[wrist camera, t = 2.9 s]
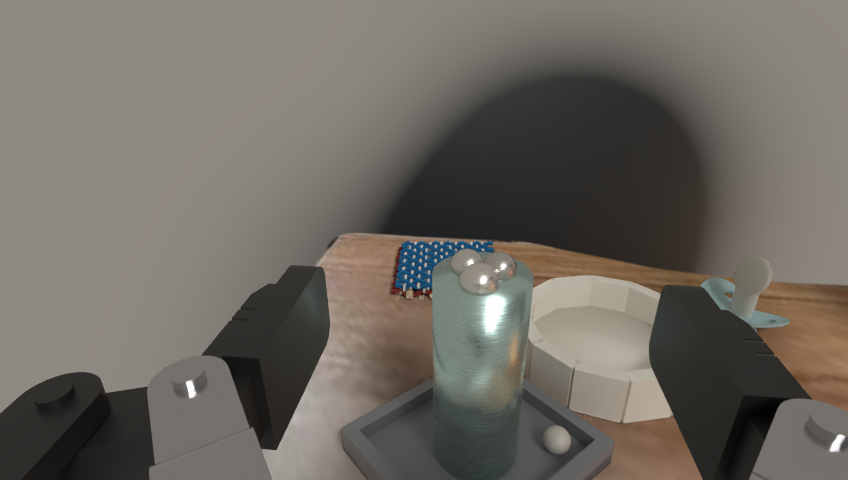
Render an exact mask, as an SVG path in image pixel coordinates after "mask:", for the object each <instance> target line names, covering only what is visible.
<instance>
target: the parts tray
mask: <svg viewBox="0 0 848 480" xmlns="http://www.w3.org/2000/svg"><path fill="white" fill-rule="evenodd" d="M341 431H342V439H343V447H344V450H345V452H346V453H347V454H348V455H349V457H350V458H351V459H352V461H353V462H354V463H355V464H356V466H357V467H358V468H359V469H360V471H361V472H362V473H363V474H364V476H365V477H366V478H367V480H460V479H457V478H455V477H454V476H452V475H450V474H449V473H447V472H446V471H445V470H444V469H443V468H442V467H441V465H440V464H439V462H438V461H437V459H436V456H435V453H434V423H433V377H431V378H430V379H428V380H426V381H424V382H422V383H421V384H419V385H417V386H415V387H414V388H412V389H410V390H408V391H407V392H405V393H403V394H401V395H399V396H398V397H396V398H394V399H392V400H391V401H389V402H387V403H385V404H384V405H382V406H380V407H378V408H376V409H375V410H373V411H371V412H369V413H368V414H366V415H364V416H362V417H361V418H359V419H357V420H355V421H354V422H352V423H350V424H348V425H346V426H345V427H343V428H341ZM614 444H615V441H614V440H613V439H611V438H610V437H609V436H607V435H606V434H604V433H603V432H601V431H600V430H599V429H597V428H596V427H594V426H593V425H591V424H590V423H589V422H587V421H586V420H584V419H583V418H581V417H580V416H578V415H577V414H576V413H574V412H573V411H571V410H570V409H568V408H567V407H566V406H564V405H563V404H561V403H560V402H558V401H557V400H556V399H554V398H553V397H551V396H550V395H548V394H547V393H545V392H544V391H543V390H541V389H540V388H538V387H537V386H535V385H534V384H533V383H531V382H530V381H528V380H527V379H525V378H524V384H523V394H522V404H521V415H520V425H519V436H518V446H517V455H516V460H515V463H514V465H513V467H512V468H511V469H510V471H509V472H508V473H506V474H505V475H504V476H502V477H501V478H499V479H497V480H592V479H593V478H594V477H596V476H597V475H598V474H599V473H600V472H601V471H602V470H603V469H604V468H605V467H606V466H607V465H608V464H609V463H610V462H611V458H612V453H613V448H614Z"/></svg>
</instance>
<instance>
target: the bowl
mask: <svg viewBox="0 0 848 480" xmlns="http://www.w3.org/2000/svg"><path fill="white" fill-rule="evenodd" d="M660 295H661V294H660V293H658V292H655V291H653V290H651V289H648V288H646V287H644V286H641V285H639V284H637V283H632V282H630V281H624V280H618V279H612V278H606V277H600V276H594V275H591V277H590V275H584V276H573V277H562V278H553V279H550V280H548V281H546V282H544V283H542V284H540V285H538V286H536V287H534V288H533V290H532V301H531V311H530V322H529V332H528V342H527V353H526V363H525V373H524V375H525V377H526V379H527V380H528V381H530V382H531V383H533V384H534V385H535V386H537V387H538V388H540V389H541V390H543V391H544V392H545V393H547V394H548V395H550V396H551V397H553V398H554V399H556V400H557V401H558V402H560V403H561V404H563V405H564V406H566V407H567V408H568V407H569V409H570V410H571V411H575V412H579V413H582V414H586V415H590V416H594V417H598V418H602V419H606V420H610V421H613V422H617V423H620V422H621V421H622V423H630V422H638V421H646V420H653V419H661V418H668V417H670V416H673V413H672V411H671V409H670V407H669V405H668V403H667V400H666V398H665V396H664V394H663V392H662V390H661V387H660V385H659V383H658V381H657V379H656V377H655V374H654V372H653V370H652V368H651V364H650V360H649V341H650V337H651V332H652V328H653V324H654V320H655V316H656V311H657V307H658V303H659V299H660Z"/></svg>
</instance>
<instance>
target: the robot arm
mask: <svg viewBox="0 0 848 480" xmlns="http://www.w3.org/2000/svg"><path fill="white" fill-rule="evenodd" d="M329 329H330V318H329V309H328V299H327V290H326V281H325V273H324V270H323V268H322V267H316V266H297V265H291V266H290V267H289V268H288V269H287V270H286V272H285V273H284V275H283V276H282V277H281V278H280V280H279V281H278V282H277V284H267V285H266V286H264V287H263V288H261V289H259V290H258V291H256V292H255V293H253V294H251V295H250V297H249V298H248V299H247V300H246V302H245V303H244V304H243V305H242V307H241V310H238V311H237V312H236V314H235V315H234V316H233V317H232V321H229V322H228V324H227V325H226V326H225V327H224V328H223V330H222V331H221V332H220V333H219V334H218V336H217V337H216V338H215V339H214V341H213V342H212V343H211V344H210V345H209V347H208V348H207V349H206V350H205V352H204V353H203V354H202V355H201V356H194V357H189V358H185V359H182V360H180V361H177V362H175V363H173V364H171V365H169V366H167V367H165V368H164V369H163V370H161V371H160V372H159V373H158V374H157V375H156V376H155V377H154V378H153V379H152V380H151V382H150V384H149V386H148V387H143V388H136V389H130V390H123V391H117V392H110V393H105V390H104V387H103V384H102V382H101V380H100V378H99V377H98V376H96V375H94V374H91V373H85V372H77V373H68V374H64V375H60V376H57V377H54V378H51V379H49V380H46V381H44V382H42V383H39V384H38V385H36V386H34V387H32V388H30V389H29V390H27V391H26V392H25V393H23V394H22V395H21V396H19V397H18V398H17V399H16V400H15V401H14V402H13V403H12V404H11V405H9V406H8V407H7V408H6V409H5V410H4V411H3V412H2V413H1V414H0V480H272V478H271V475H270V473H269V470H268V467H267V464H266V461H265V459H264V456H263V453H262V450H261V449H270V450H277V448H278V446H279V443H280V441H281V439H282V437H283V435H284V433H285V431H286V429H287V427H288V424H289V422H290V420H291V418H292V416H293V414H294V412H295V410H296V408H297V405H298V403H299V401H300V399H301V397H302V395H303V393H304V391H305V389H306V386H307V384H308V382H309V380H310V378H311V376H312V374H313V372H314V370H315V367H316V365H317V363H318V361H319V359H320V357H321V355H322V353H323V351H324V348H325V346H326V344H327V341H328V337H329ZM649 360H650V364H651V368H652V370H653V372H654V374H655V377H656V379H657V381H658V383H659V385H660V387H661V390H662V392H663V394H664V396H665V398H666V400H667V403H668V405H669V407H670V409H671V411H672V413H673V416H674V418H675V420H676V422H677V424H678V426H679V429H680V431H681V433H682V435H683V437H684V439H685V442H686V444H687V446H688V448H689V450H690V452H691V455H692V457H693V459H694V461H695V463H696V465H697V468H698V470H699V472H700V474H701V476H702V478H703V480H848V412H846V411H844V410H842V409H839V408H837V407H835V406H832V405H829V404H827V403H823V402H820V401H816V400H812V398H811V397H810V396H809V395H808V394H807V393H806V391H805V390H804V389H803V388H802V387H801V385H800V384H799V383H798V382H797V381H796V379H795V378H794V377H793V376H792V375H791V373H790V372H789V371H788V370H787V369H786V367H785V366H784V365H783V364H782V363H781V361H780V360H779V359H778V358H777V357H774V353H773V352H772V351H771V349H770V348H769V347H768V346H767V345H766V343H763V340H762V339H761V337H760V336H759V335H758V334H757V333H756V331H755V330H754V329H753V328H752V327H751V325H750V324H748V323H747V322H745V321H744V320H742V319H741V318H739V317H738V316H736V315H735V314H733V313H732V312H730V311H729V310H721V309H720V307H719V306H718V305H717V304H716V302H715V301H714V300H713V299H712V297H711V296H710V295H709V293H708V292H707V291H706V290H705V289H704V288H703V287H695V286H675V285H666V286H665V287H664V288H663V290H662V292H661V295H660V299H659V303H658V307H657V311H656V316H655V320H654V324H653V328H652V332H651V337H650V341H649Z"/></svg>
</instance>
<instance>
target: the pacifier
mask: <svg viewBox="0 0 848 480" xmlns="http://www.w3.org/2000/svg"><path fill="white" fill-rule="evenodd" d="M772 277H773V271H772V267H771V265H770V264H769V262H768V261H767V260H765V259H764V258H762V257H759V256H749V257H746V258H744V259H743V260H742V261H741V262H740V263H739V264H738V265H737V267H736V269H735V272H734V283H735V285H734V284H733V283H731V282H729V281H727V280H725V279H723V278H716V277H714V278H709V279H707V280H706V281H704V282H703V284H702V285H701V286H700V287H703V288H704V289H705V290H706V291H707V292H708V293H709V295H710V296H711V297H712V299H713V300H714V301H715V302H716V304H717V305H718V306H719V307H720V309H721V310H729V311H730V312H732V313H733V314H735V315H736V316H738V317H739V318H741V319H742V320H744V321H745V322H747V323H748V324H750V325H751V327H752V328H753V329H754V330H755V331H756V333H757V328H775V327H781V326H785V325H788V324H789V321H790V320H789V319H787V318H784V317H780V316H777V315H773V314H769V313H764V312H759V311H756V310H754V309H755V306H756V303H757V300H758V297H759V294H760V293H761V292H763V291H764V290H765V289H766V288H767V287H768V286H769V285H770V283H771V281H772ZM725 293H730V294H732V295H733V297H732V298H728V297H727V296H726V295H725Z"/></svg>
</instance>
